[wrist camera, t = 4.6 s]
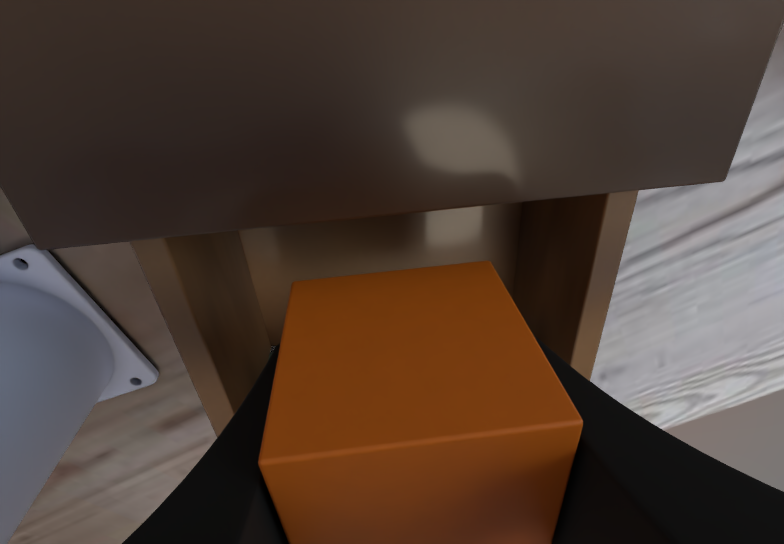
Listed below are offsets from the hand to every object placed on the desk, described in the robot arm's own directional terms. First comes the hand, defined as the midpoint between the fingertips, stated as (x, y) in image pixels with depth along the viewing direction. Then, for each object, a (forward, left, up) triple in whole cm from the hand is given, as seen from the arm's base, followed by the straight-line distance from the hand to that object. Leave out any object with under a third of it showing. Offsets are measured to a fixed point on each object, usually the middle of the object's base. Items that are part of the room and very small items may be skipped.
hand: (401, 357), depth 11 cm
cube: (0, 0, 0) cm, 0 cm away
